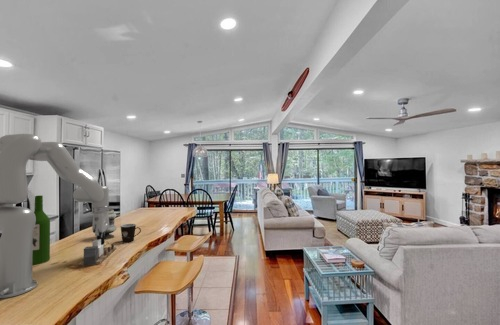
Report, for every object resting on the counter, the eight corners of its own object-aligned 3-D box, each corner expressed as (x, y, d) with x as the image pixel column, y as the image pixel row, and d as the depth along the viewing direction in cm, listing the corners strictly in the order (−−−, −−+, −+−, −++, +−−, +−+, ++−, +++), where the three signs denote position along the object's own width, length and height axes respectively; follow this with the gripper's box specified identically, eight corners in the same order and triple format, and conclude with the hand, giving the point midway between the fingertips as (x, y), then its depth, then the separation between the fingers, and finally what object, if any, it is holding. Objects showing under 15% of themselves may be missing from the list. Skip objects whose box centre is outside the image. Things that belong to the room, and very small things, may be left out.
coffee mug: (117, 242, 152) (117, 226, 152) (129, 238, 160) (129, 223, 160) (129, 245, 147) (129, 228, 147) (141, 241, 154) (142, 225, 154)
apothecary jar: (107, 240, 155) (107, 212, 155) (90, 239, 157) (90, 211, 157) (120, 235, 167) (120, 208, 167) (104, 234, 169) (104, 208, 169)
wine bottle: (21, 266, 116) (22, 197, 116) (32, 259, 124) (33, 195, 125) (43, 264, 118) (44, 196, 118) (53, 257, 127) (53, 194, 127)
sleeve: (99, 256, 123) (99, 241, 123) (89, 257, 122) (89, 242, 122) (103, 253, 127) (103, 238, 128) (94, 253, 127) (94, 239, 127)
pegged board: (99, 264, 118) (99, 247, 118) (78, 265, 116) (79, 249, 116) (116, 248, 140) (116, 234, 140) (99, 249, 138) (99, 235, 138)
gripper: (102, 212, 122) (102, 248, 122) (113, 206, 137) (113, 239, 137) (85, 212, 121) (86, 249, 121) (98, 207, 136) (98, 240, 136)
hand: (100, 244), depth 129 cm, fingers closed
